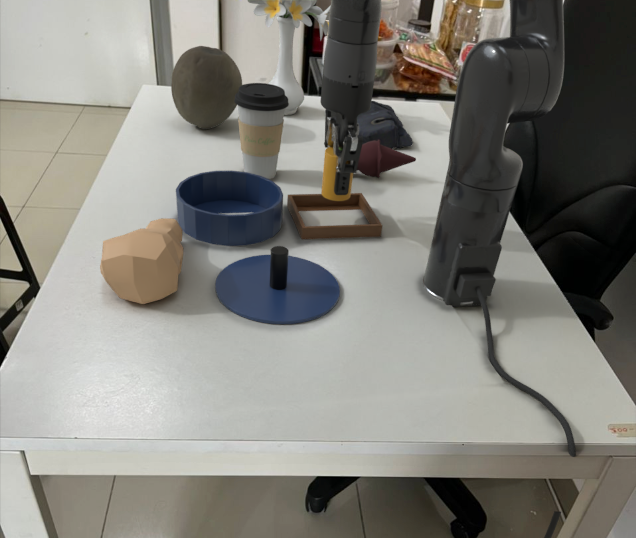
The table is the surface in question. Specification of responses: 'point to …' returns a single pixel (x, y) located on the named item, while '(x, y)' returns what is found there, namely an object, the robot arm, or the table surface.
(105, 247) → the squash
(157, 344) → the table surface
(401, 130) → the dark slate chunk
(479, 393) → the table surface
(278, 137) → the coffee cup
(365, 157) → the icecream
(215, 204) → the pot
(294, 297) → the lid
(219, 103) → the cantaloupe
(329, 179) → the pineapple
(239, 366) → the table surface
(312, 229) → the tray
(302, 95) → the flower vase
